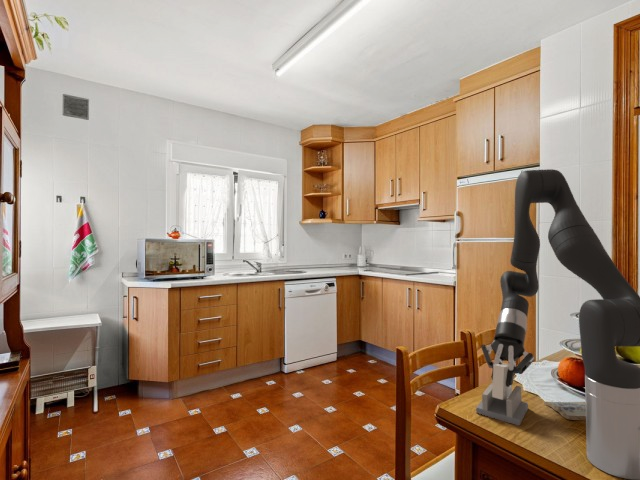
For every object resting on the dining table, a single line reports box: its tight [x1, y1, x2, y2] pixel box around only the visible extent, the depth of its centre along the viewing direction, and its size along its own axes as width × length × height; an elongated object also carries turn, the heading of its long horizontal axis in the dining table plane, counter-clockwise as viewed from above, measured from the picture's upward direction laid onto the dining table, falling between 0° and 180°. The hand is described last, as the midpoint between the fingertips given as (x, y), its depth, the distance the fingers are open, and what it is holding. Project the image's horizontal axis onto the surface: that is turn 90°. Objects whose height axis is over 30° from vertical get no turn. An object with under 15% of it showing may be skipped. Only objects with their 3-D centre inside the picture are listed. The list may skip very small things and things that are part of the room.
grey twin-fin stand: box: [475, 381, 529, 427], centre depth 93 cm, size 10×11×6 cm
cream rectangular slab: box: [492, 362, 513, 400], centre depth 94 cm, size 2×10×8 cm, turn 139°
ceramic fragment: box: [543, 401, 586, 421], centre depth 91 cm, size 11×3×10 cm
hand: (501, 383), depth 93 cm, fingers closed on cream rectangular slab, 2 cm apart
